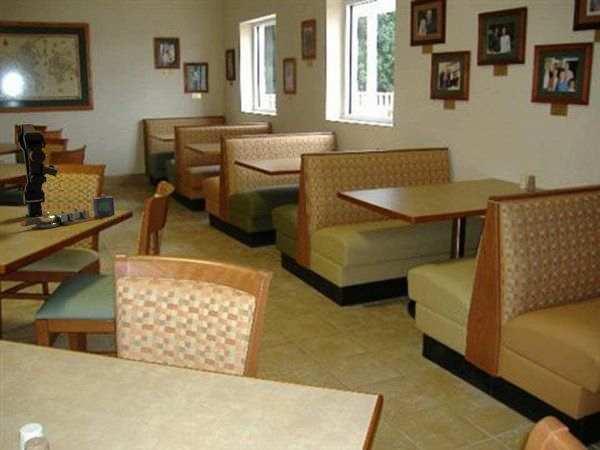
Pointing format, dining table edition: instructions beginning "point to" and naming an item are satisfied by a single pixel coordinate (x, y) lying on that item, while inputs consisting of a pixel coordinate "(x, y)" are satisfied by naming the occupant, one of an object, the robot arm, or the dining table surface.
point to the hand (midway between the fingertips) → (39, 195)
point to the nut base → (47, 226)
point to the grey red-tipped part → (38, 220)
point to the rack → (75, 221)
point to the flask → (103, 206)
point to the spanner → (69, 216)
